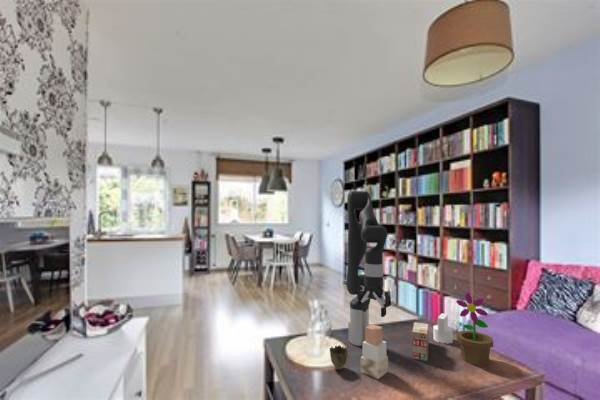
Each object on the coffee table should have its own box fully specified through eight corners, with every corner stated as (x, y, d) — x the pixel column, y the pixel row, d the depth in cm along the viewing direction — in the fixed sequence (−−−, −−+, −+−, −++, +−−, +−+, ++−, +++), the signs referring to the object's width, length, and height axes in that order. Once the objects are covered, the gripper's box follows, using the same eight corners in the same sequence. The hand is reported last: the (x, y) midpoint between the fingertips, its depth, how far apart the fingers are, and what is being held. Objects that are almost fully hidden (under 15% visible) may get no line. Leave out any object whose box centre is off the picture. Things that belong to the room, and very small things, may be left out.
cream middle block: (362, 357, 129) (362, 342, 129) (371, 351, 134) (371, 337, 134) (378, 362, 124) (377, 347, 125) (386, 356, 130) (386, 341, 130)
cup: (336, 374, 127) (336, 354, 127) (326, 366, 133) (326, 347, 133) (351, 370, 130) (351, 350, 130) (341, 362, 137) (341, 344, 137)
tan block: (365, 342, 129) (365, 327, 129) (371, 338, 133) (371, 324, 133) (376, 345, 126) (376, 330, 126) (382, 341, 130) (382, 327, 130)
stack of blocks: (415, 340, 160) (415, 316, 160) (428, 342, 157) (428, 317, 158) (412, 359, 140) (412, 331, 141) (427, 361, 138) (427, 333, 138)
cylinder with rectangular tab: (435, 335, 167) (435, 312, 167) (454, 339, 162) (454, 315, 162) (431, 340, 160) (431, 316, 160) (450, 345, 154) (450, 320, 155)
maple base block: (360, 372, 129) (360, 357, 129) (370, 364, 135) (370, 350, 135) (378, 379, 123) (378, 363, 124) (388, 371, 129) (387, 356, 129)
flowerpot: (452, 360, 138) (451, 291, 139) (462, 350, 149) (461, 286, 150) (489, 372, 129) (488, 298, 129) (497, 360, 139) (496, 291, 140)
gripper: (354, 273, 132) (353, 312, 132) (384, 278, 122) (384, 320, 122) (363, 270, 138) (363, 307, 137) (394, 275, 128) (394, 315, 127)
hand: (373, 313), depth 130 cm, fingers open, 8 cm apart
